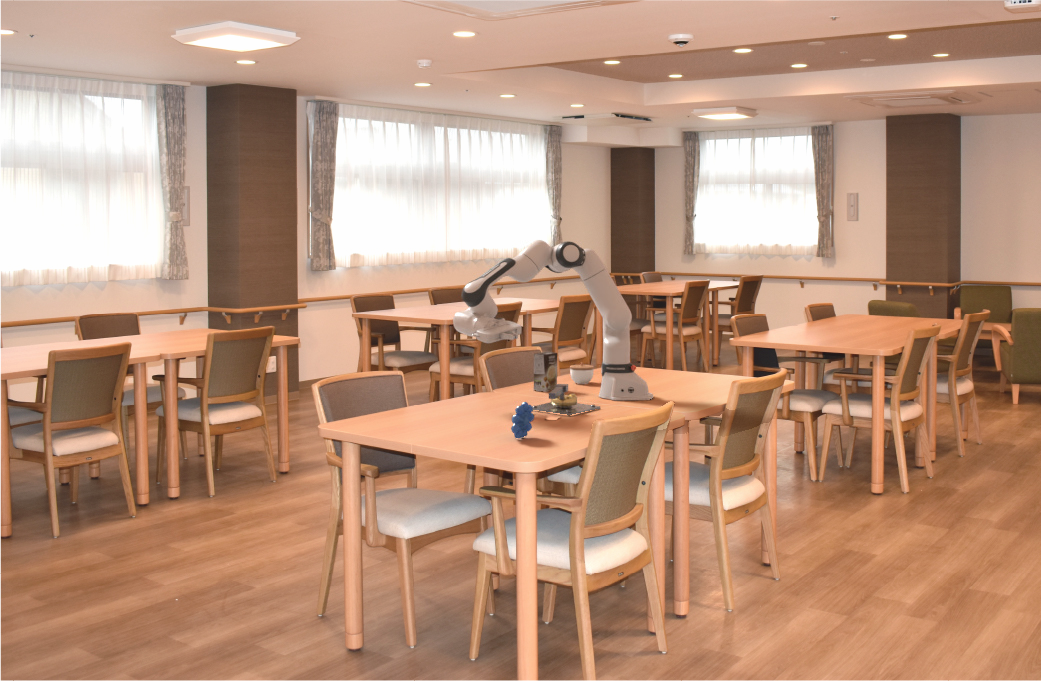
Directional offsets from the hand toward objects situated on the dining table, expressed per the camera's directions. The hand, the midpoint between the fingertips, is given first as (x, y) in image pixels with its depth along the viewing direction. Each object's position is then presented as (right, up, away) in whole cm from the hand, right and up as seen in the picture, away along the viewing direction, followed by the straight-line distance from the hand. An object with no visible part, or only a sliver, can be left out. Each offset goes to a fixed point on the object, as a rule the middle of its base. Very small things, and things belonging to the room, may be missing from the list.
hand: (515, 337), depth 363 cm
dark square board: (+19, -28, +7) cm, 34 cm away
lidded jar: (+29, -21, +72) cm, 81 cm away
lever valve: (+16, -26, -2) cm, 31 cm away
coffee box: (+13, -23, +53) cm, 59 cm away
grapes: (+2, -34, -44) cm, 55 cm away
